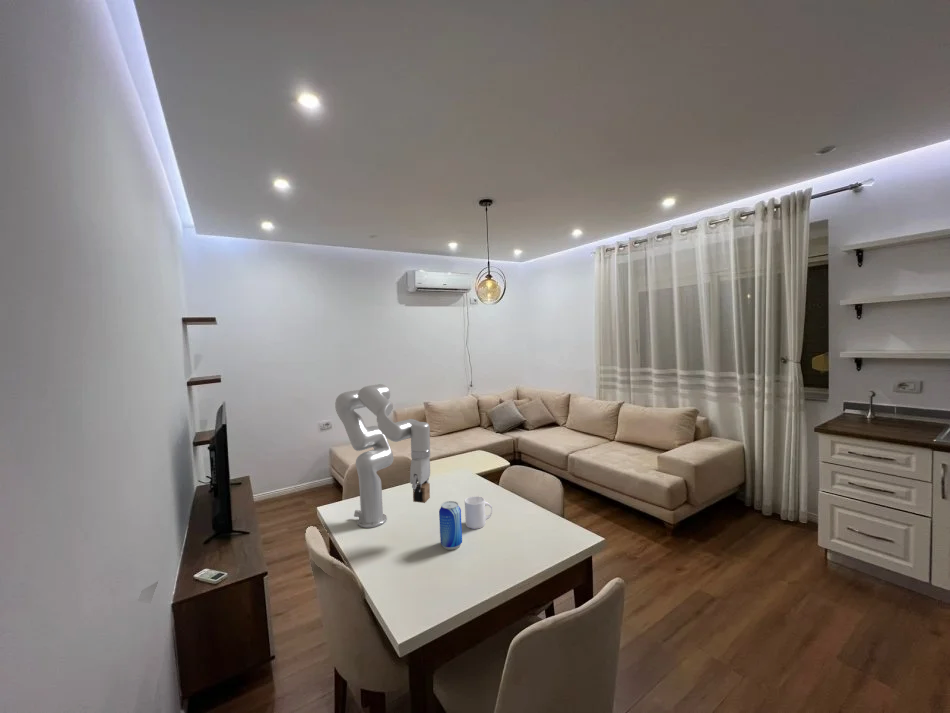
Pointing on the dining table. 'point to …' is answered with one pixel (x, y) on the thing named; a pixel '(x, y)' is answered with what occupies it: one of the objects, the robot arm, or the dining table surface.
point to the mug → (476, 512)
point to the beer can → (450, 525)
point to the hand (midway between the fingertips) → (421, 497)
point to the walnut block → (424, 492)
